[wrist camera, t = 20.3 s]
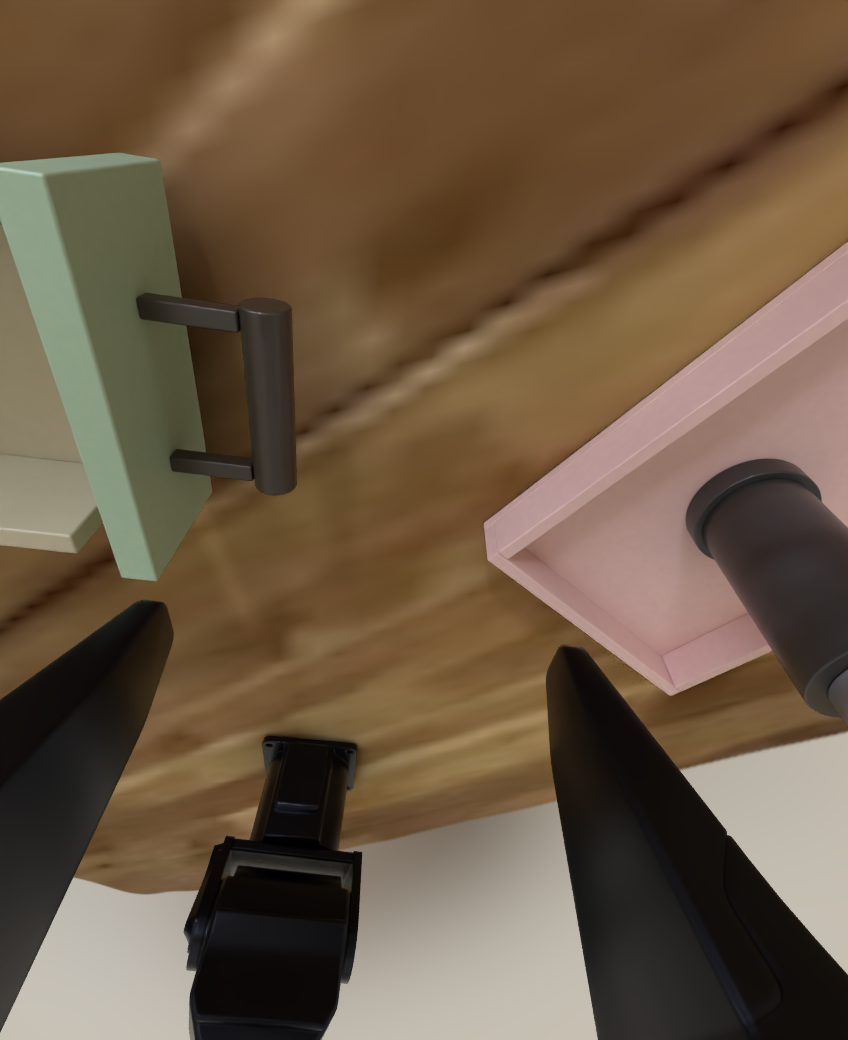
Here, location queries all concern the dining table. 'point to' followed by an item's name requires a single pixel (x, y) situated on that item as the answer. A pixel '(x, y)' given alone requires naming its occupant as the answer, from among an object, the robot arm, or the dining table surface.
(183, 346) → the drawer
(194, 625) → the dining table surface
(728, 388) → the tray
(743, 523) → the pepper mill
